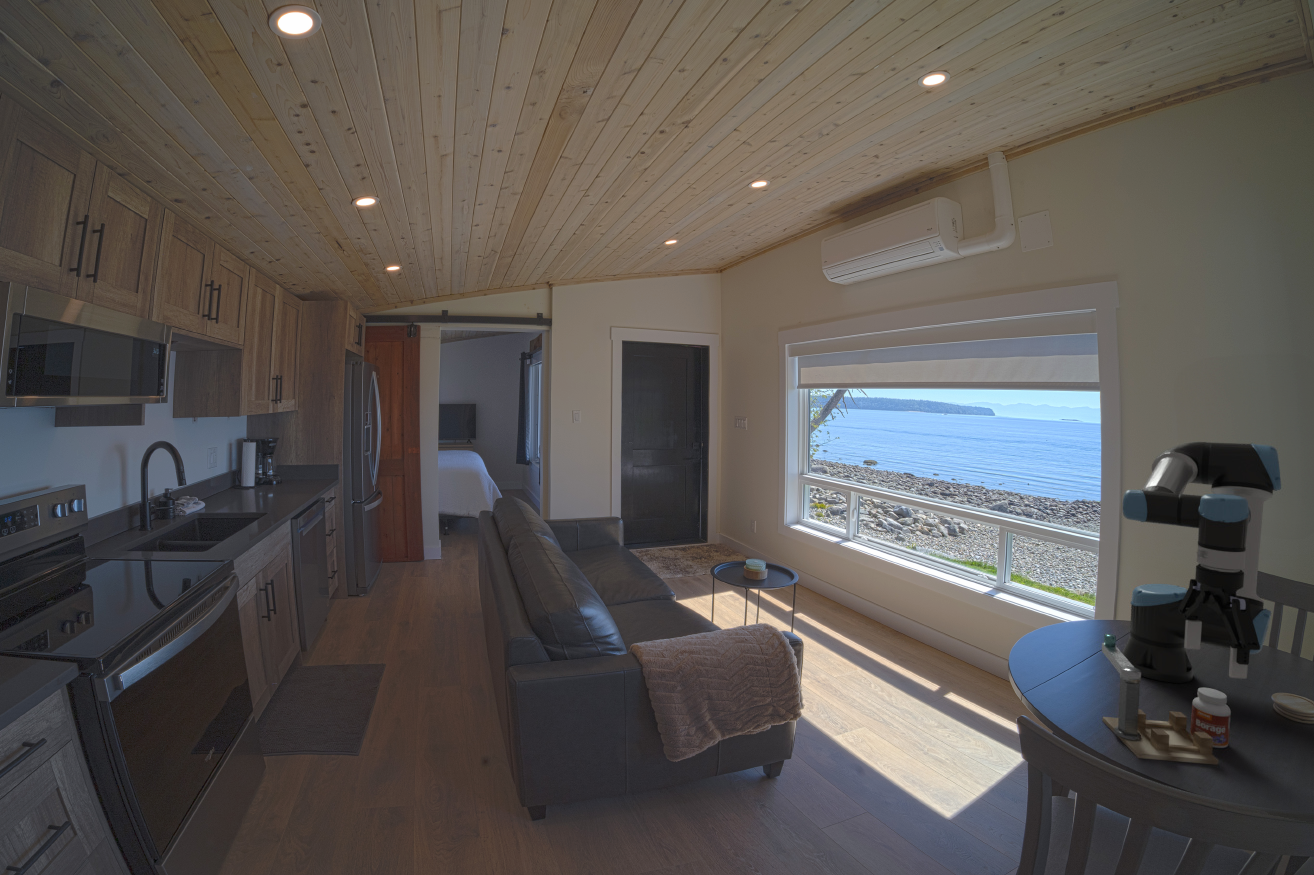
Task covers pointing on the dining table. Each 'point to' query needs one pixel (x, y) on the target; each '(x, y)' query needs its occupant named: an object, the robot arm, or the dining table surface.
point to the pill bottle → (1211, 716)
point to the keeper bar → (1120, 660)
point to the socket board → (1162, 755)
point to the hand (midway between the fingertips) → (1213, 662)
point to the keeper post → (1128, 711)
